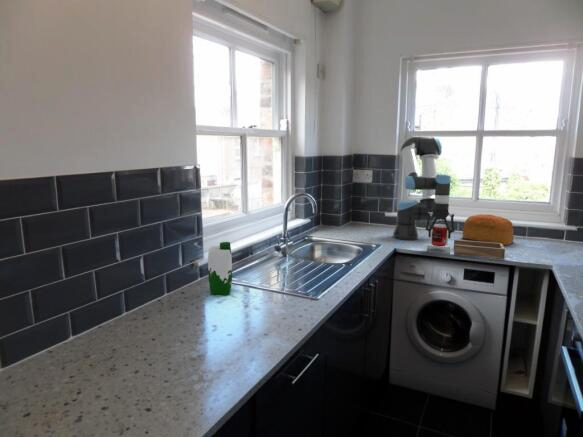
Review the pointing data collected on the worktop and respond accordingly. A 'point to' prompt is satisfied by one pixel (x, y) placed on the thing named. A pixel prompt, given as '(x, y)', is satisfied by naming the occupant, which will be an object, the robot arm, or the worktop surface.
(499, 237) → the bread
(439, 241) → the canned food
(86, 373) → the worktop surface
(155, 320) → the worktop surface
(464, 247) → the wooden tray
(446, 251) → the mat
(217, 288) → the milk carton
